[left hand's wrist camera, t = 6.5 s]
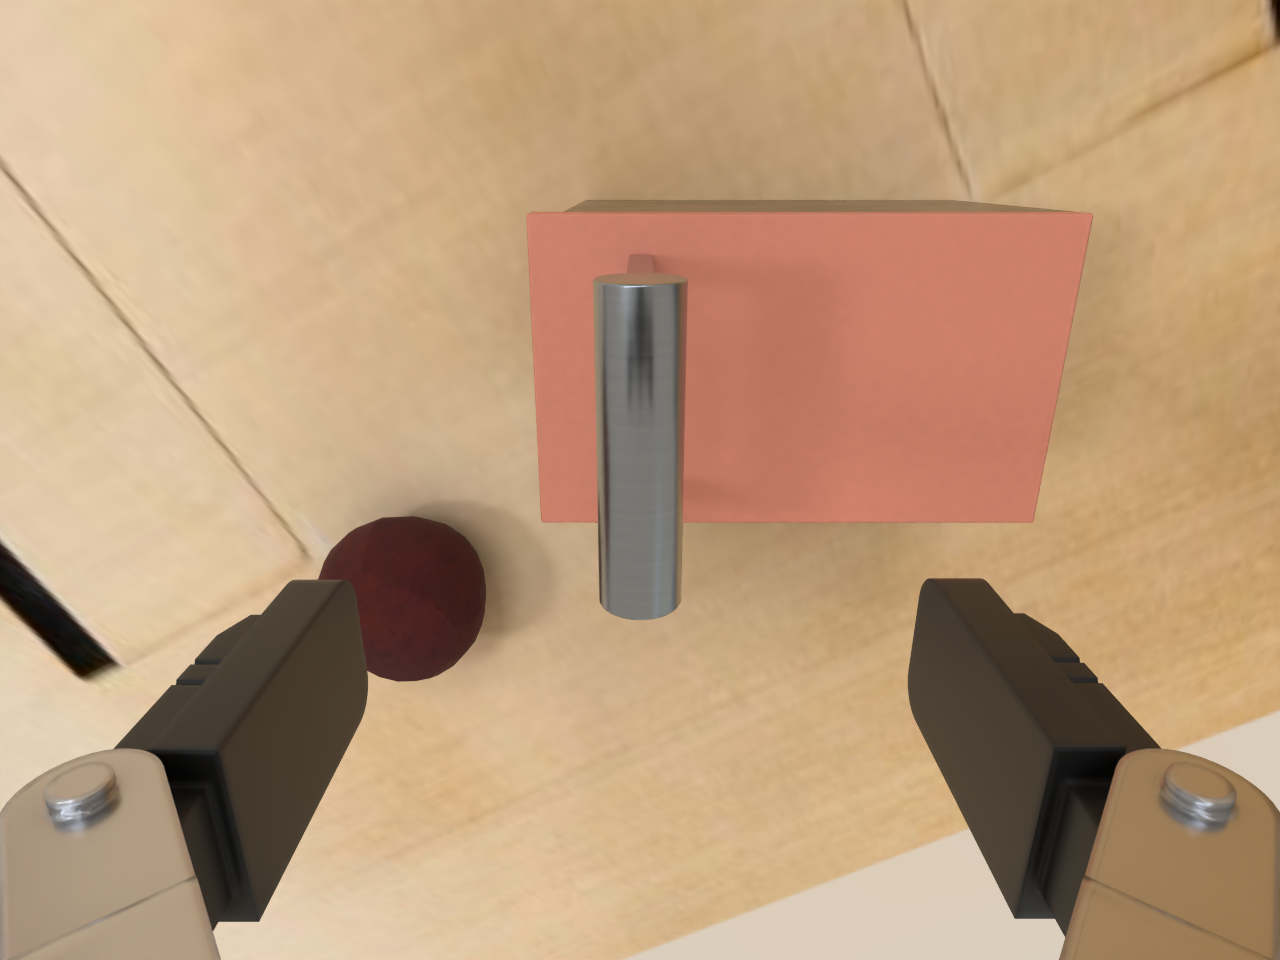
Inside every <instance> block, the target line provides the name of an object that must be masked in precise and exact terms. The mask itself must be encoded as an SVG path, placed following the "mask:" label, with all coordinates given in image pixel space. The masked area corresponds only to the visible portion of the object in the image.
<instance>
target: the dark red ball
mask: <svg viewBox="0 0 1280 960" xmlns="http://www.w3.org/2000/svg"><path fill="white" fill-rule="evenodd" d="M318 580H348V581H350V582H351V584H352V585H353V587H354V590H355V593H356V599H357V605H358V612H359V619H360V626H361V633H362V639H363V646H364V653H365V660H366V667H367V671H369V672H371V673H373V674H375V675H377V676H379V677H382V678H386V679H390V680H394V681H418V680H423V679H428V678H432V677H434V676H437V675H439V674H441V673H442V672H444V671H446V670H447V669H449V668H451V667H452V666H454V665H455V664H456V662H457V661H458V660H459V659H460V658H461V657H462V656H463V655H464V654H465V653H466V652H467V650H468V649H469V648H470V647H471V645H472V644H473V643H474V642H475V640H476V638H477V635H478V633H479V630H480V628H481V625H482V622H483V617H484V613H485V600H486V585H485V578H484V571H483V568H482V565H481V562H480V559H479V557H478V554H477V552H476V551H475V550H474V548H473V547H472V546H471V544H470V543H469V542H468V540H467V539H466V538H465V537H464V536H462V535H461V534H459V533H458V532H457V531H455V530H454V529H452V528H451V527H449V526H448V525H446V524H442V523H438V522H434V521H431V520H427V519H423V518H419V517H389V518H381V519H378V520H376V521H373V522H371V523H368V524H365V525H363V526H360V527H358V528H356V529H354V530H353V531H351V532H350V533H348V534H347V535H346V536H345V537H344V538H343V539H342V540H341V541H340V542H339V543H338V544H337V545H336V546H335V547H334V548H333V549H332V550H331V551H330V553H329V554H328V556H327V558H326V560H325V561H324V564H323V567H322V570H321V573H320V576H319V578H318Z"/></svg>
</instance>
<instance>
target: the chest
mask: <svg viewBox="0 0 1280 960" xmlns="http://www.w3.org/2000/svg"><path fill="white" fill-rule="evenodd" d="M564 212H1072V211H1061V210H1050V209H1040V208H1029V207H1018V206H1007V205H997V204H986V203H975V202H964V201H826V200H586V201H584V202H582V203H580V204H578V205H576V206H574V207H572V208H570V209H568V210H566V211H564Z"/></svg>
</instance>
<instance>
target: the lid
mask: <svg viewBox="0 0 1280 960" xmlns="http://www.w3.org/2000/svg"><path fill="white" fill-rule="evenodd" d="M1092 219H1093V215H1092V214H1091V213H1082V212H531V213H529V214H527V237H528V257H529V278H530V298H531V318H532V339H533V359H534V379H535V400H536V420H537V441H538V461H539V481H540V502H541V520H542V522H598V549H599V597H600V603H601V605H602V607H603V608H604V609H605V610H606V611H608V612H609V613H611V614H613V615H615V616H618V617H621V618H626V619H632V620H648V619H655V618H659V617H663V616H665V615H668V614H670V613H671V612H673V611H674V610H675V609H676V608H677V607H678V606H679V604H680V602H681V580H682V533H683V522H962V523H1031V522H1033V520H1034V515H1035V510H1036V505H1037V499H1038V494H1039V489H1040V484H1041V479H1042V474H1043V469H1044V464H1045V459H1046V454H1047V448H1048V443H1049V438H1050V433H1051V428H1052V423H1053V418H1054V413H1055V408H1056V402H1057V397H1058V392H1059V387H1060V382H1061V377H1062V372H1063V367H1064V362H1065V356H1066V351H1067V346H1068V341H1069V336H1070V331H1071V326H1072V321H1073V316H1074V310H1075V305H1076V300H1077V295H1078V290H1079V285H1080V280H1081V275H1082V270H1083V265H1084V259H1085V254H1086V249H1087V244H1088V239H1089V234H1090V229H1091V224H1092Z"/></svg>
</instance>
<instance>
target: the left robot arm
mask: <svg viewBox="0 0 1280 960" xmlns="http://www.w3.org/2000/svg"><path fill="white" fill-rule="evenodd" d="M1079 659H1080V658H1079V657H1078V656H1077V655H1076V653H1075V652H1074V651H1073V650H1072V649H1071V648H1070V647H1069V646H1068V645H1067V644H1066V642H1065V641H1064V640H1063V639H1062V638H1061V637H1060V636H1059V635H1058V634H1057V633H1055V632H1054V631H1052V630H1051V629H1049V628H1047V627H1046V626H1044V625H1042V624H1041V623H1039V622H1037V621H1036V620H1034V619H1032V618H1031V617H1029V616H1028V615H1026V614H1024V613H1013V612H1012V611H1011V610H1010V608H1009V607H1008V606H1007V605H1006V604H1005V602H1004V601H1003V600H1002V599H1001V598H1000V597H999V595H998V594H997V593H996V592H995V591H994V589H993V588H992V587H991V586H990V585H989V584H988V582H987V581H985V580H984V579H927V580H926V581H925V582H924V583H923V585H922V588H921V591H920V596H919V602H918V609H917V616H916V623H915V630H914V637H913V644H912V651H911V658H910V665H909V672H908V693H909V701H910V706H911V710H912V713H913V716H914V718H915V721H916V723H917V725H918V727H919V729H920V731H921V733H922V735H923V737H924V739H925V741H926V743H927V745H928V747H929V749H930V751H931V753H932V755H933V757H934V759H935V761H936V763H937V765H938V767H939V768H940V770H941V772H942V774H943V776H944V778H945V780H946V782H947V784H948V786H949V788H950V790H951V792H952V794H953V796H954V798H955V800H956V802H957V804H958V806H959V808H960V810H961V812H962V814H963V816H964V818H965V820H966V822H967V824H968V826H969V828H970V830H971V832H972V834H973V836H974V838H975V840H976V842H977V844H978V846H979V848H980V850H981V852H982V854H983V856H984V858H985V860H986V862H987V864H988V866H989V868H990V870H991V872H992V874H993V876H994V878H995V880H996V882H997V884H998V886H999V888H1000V890H1001V892H1002V894H1003V896H1004V898H1005V900H1006V902H1007V904H1008V906H1009V908H1010V910H1011V912H1012V914H1013V916H1014V918H1015V919H1056V921H1057V923H1058V925H1059V927H1060V929H1061V930H1062V932H1063V934H1064V936H1065V941H1064V945H1063V948H1062V951H1061V955H1060V958H1059V960H1280V812H1279V811H1278V809H1277V808H1276V806H1275V805H1274V803H1273V802H1272V801H1271V800H1270V799H1269V798H1268V797H1267V796H1266V795H1265V794H1264V793H1263V792H1262V791H1261V790H1259V789H1258V788H1257V787H1256V786H1255V785H1253V784H1252V783H1250V782H1249V781H1248V780H1246V779H1245V778H1243V777H1242V776H1240V775H1238V774H1237V773H1235V772H1233V771H1231V770H1230V769H1228V768H1226V767H1223V766H1221V765H1219V764H1217V763H1215V762H1212V761H1210V760H1207V759H1205V758H1202V757H1199V756H1196V755H1192V754H1189V753H1185V752H1180V751H1176V750H1168V749H1161V748H1160V746H1159V745H1158V744H1157V743H1156V742H1155V741H1154V740H1153V739H1152V738H1151V737H1150V735H1149V734H1148V733H1147V732H1146V731H1145V730H1144V729H1143V728H1142V727H1141V725H1140V724H1139V723H1138V722H1137V721H1136V720H1135V719H1134V718H1133V717H1132V715H1131V714H1130V713H1129V712H1128V711H1127V710H1126V709H1125V708H1124V707H1123V706H1122V704H1121V703H1120V702H1119V701H1118V700H1117V699H1116V698H1115V697H1114V696H1113V694H1112V693H1111V692H1110V691H1109V690H1108V689H1107V688H1106V687H1105V686H1104V684H1103V683H1098V678H1097V677H1096V676H1095V675H1094V673H1093V672H1092V671H1091V670H1090V669H1089V668H1088V667H1087V666H1086V665H1085V663H1080V660H1079ZM176 681H177V683H176V685H171V686H170V688H169V689H168V690H167V691H166V692H165V693H164V694H163V695H162V696H161V697H160V699H159V700H158V701H157V702H156V703H155V704H154V705H153V706H152V707H151V708H150V709H149V711H148V712H147V713H146V714H145V715H144V716H143V717H142V718H141V719H140V720H139V722H138V723H137V724H136V725H135V726H134V727H133V728H132V729H131V730H130V731H129V733H128V734H127V735H126V736H125V737H124V738H123V739H122V740H121V741H120V742H119V743H118V745H117V746H116V747H115V748H114V749H112V750H104V751H100V752H95V753H91V754H88V755H84V756H81V757H78V758H75V759H73V760H70V761H68V762H65V763H63V764H61V765H59V766H57V767H54V768H52V769H50V770H49V771H47V772H45V773H43V774H42V775H40V776H38V777H37V778H35V779H34V780H32V781H31V782H29V783H28V784H27V785H25V786H24V787H23V788H22V789H21V790H19V791H18V792H17V793H16V794H15V795H14V796H13V797H12V798H11V799H10V800H9V801H8V802H7V803H6V805H5V806H4V808H3V809H2V810H1V812H0V960H221V958H220V955H219V951H218V948H217V944H216V941H215V938H214V934H213V930H214V929H215V927H216V925H217V923H218V922H259V921H260V919H261V917H262V915H263V913H264V911H265V909H266V907H267V905H268V903H269V901H270V899H271V897H272V895H273V893H274V891H275V889H276V887H277V885H278V883H279V881H280V879H281V877H282V875H283V873H284V872H285V870H286V868H287V866H288V864H289V862H290V860H291V858H292V856H293V854H294V852H295V850H296V848H297V846H298V844H299V842H300V840H301V838H302V836H303V834H304V832H305V830H306V828H307V826H308V824H309V822H310V820H311V818H312V816H313V814H314V812H315V810H316V809H317V807H318V805H319V803H320V801H321V799H322V797H323V795H324V793H325V791H326V789H327V787H328V785H329V783H330V781H331V779H332V777H333V775H334V773H335V771H336V769H337V767H338V765H339V763H340V761H341V759H342V757H343V755H344V753H345V751H346V749H347V747H348V745H349V744H350V742H351V740H352V738H353V736H354V734H355V732H356V730H357V728H358V726H359V724H360V722H361V720H362V717H363V714H364V711H365V707H366V702H367V694H368V674H367V667H366V660H365V653H364V646H363V639H362V633H361V626H360V619H359V612H358V605H357V599H356V593H355V590H354V587H353V585H352V584H351V582H350V581H348V580H292V581H290V582H289V583H288V584H287V585H286V586H285V587H284V589H283V590H282V591H281V592H280V593H279V594H278V596H277V597H276V598H275V599H274V600H273V601H272V603H271V604H270V605H269V606H268V607H267V608H266V610H265V611H264V612H263V613H262V614H261V615H250V616H248V617H247V618H245V619H243V620H242V621H240V622H238V623H237V624H235V625H233V626H232V627H230V628H229V629H227V630H225V631H224V632H222V633H220V634H219V635H217V636H216V637H215V638H214V639H213V640H212V641H211V643H210V644H209V645H208V646H207V647H206V648H205V649H204V650H203V651H202V652H201V654H200V655H199V656H198V657H197V658H196V659H195V664H194V665H190V666H189V667H188V668H187V669H186V670H185V671H184V672H183V673H182V674H181V675H180V677H179V678H178V679H177V680H176Z"/></svg>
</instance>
